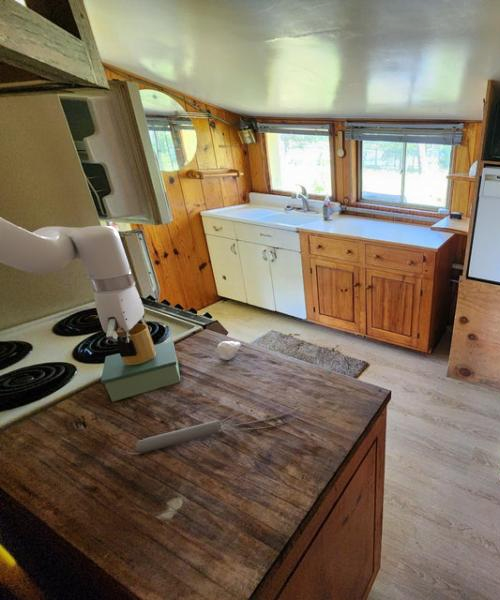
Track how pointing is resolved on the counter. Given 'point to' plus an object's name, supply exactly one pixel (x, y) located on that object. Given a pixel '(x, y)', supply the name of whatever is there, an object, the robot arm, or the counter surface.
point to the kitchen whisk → (197, 431)
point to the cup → (140, 344)
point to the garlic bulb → (228, 349)
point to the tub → (141, 373)
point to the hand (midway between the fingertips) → (136, 346)
